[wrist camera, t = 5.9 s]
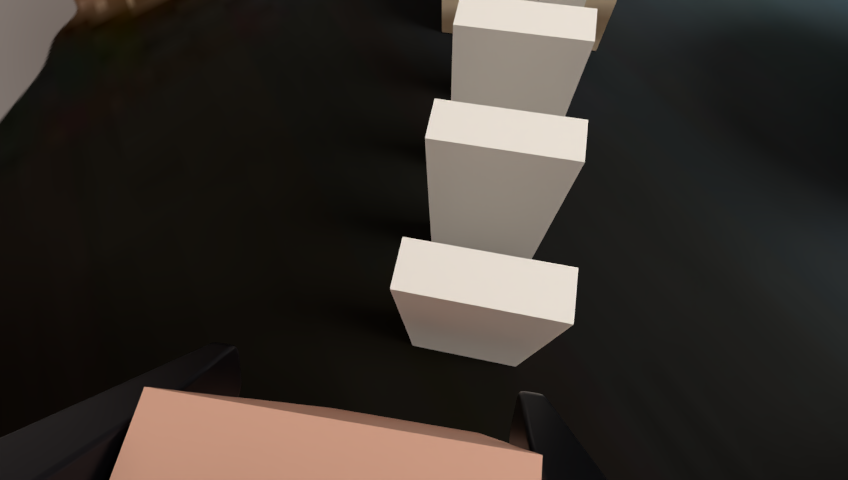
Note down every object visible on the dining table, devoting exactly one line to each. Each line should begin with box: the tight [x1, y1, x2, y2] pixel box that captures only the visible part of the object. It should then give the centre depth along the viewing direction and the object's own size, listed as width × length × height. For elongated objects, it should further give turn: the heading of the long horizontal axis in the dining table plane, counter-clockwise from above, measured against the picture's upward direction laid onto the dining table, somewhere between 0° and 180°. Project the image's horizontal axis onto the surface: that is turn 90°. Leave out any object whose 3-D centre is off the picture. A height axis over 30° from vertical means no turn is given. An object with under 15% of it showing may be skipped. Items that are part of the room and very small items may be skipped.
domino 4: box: [390, 237, 578, 367], centre depth 17 cm, size 2×5×10 cm, turn 78°
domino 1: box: [109, 387, 543, 480], centre depth 10 cm, size 2×5×10 cm, turn 81°
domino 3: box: [425, 99, 588, 259], centre depth 19 cm, size 2×5×10 cm, turn 78°
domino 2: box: [451, 0, 598, 117], centre depth 20 cm, size 2×5×10 cm, turn 79°
